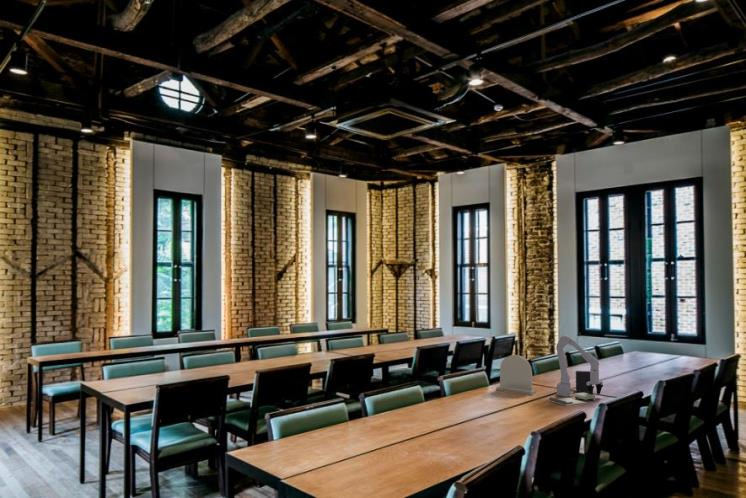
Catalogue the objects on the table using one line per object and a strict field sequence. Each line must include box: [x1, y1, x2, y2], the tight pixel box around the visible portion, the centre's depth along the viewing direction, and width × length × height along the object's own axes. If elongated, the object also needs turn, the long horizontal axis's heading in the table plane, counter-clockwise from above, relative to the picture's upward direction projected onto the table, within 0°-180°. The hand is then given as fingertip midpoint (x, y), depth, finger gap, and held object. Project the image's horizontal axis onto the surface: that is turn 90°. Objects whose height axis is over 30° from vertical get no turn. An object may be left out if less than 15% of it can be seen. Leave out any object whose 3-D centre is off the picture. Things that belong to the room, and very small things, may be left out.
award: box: [495, 354, 537, 396], centre depth 392 cm, size 28×9×28 cm, turn 54°
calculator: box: [575, 370, 590, 393], centre depth 396 cm, size 11×4×15 cm, turn 84°
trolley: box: [573, 391, 596, 402], centre depth 368 cm, size 10×10×4 cm
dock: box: [547, 396, 588, 407], centre depth 360 cm, size 16×20×3 cm
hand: (594, 394), depth 373 cm, fingers open, 7 cm apart
